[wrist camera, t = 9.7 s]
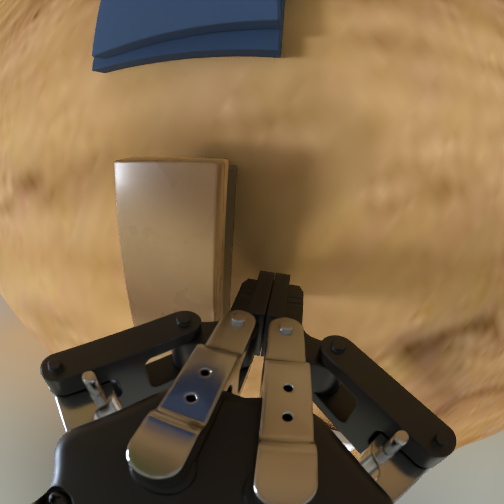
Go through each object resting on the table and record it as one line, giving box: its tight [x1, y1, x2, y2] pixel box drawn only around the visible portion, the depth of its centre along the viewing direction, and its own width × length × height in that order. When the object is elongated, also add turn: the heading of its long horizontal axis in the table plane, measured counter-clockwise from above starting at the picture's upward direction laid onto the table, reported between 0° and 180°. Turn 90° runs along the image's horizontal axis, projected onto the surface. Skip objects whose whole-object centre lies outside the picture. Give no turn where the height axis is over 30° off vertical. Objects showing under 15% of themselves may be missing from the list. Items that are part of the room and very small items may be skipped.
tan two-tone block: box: [114, 157, 237, 364], centre depth 13 cm, size 12×4×4 cm, turn 176°
